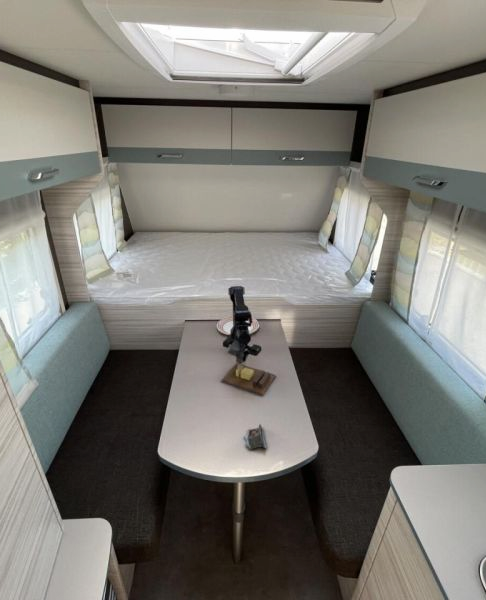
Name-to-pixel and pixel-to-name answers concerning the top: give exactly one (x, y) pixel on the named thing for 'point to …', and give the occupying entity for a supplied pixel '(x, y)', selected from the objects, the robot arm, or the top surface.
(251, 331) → the dinner plate
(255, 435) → the grey irregular block
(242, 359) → the dark grey block
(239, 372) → the butter slice
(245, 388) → the cutting board
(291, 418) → the top surface
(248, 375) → the butter stick
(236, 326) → the robot arm
